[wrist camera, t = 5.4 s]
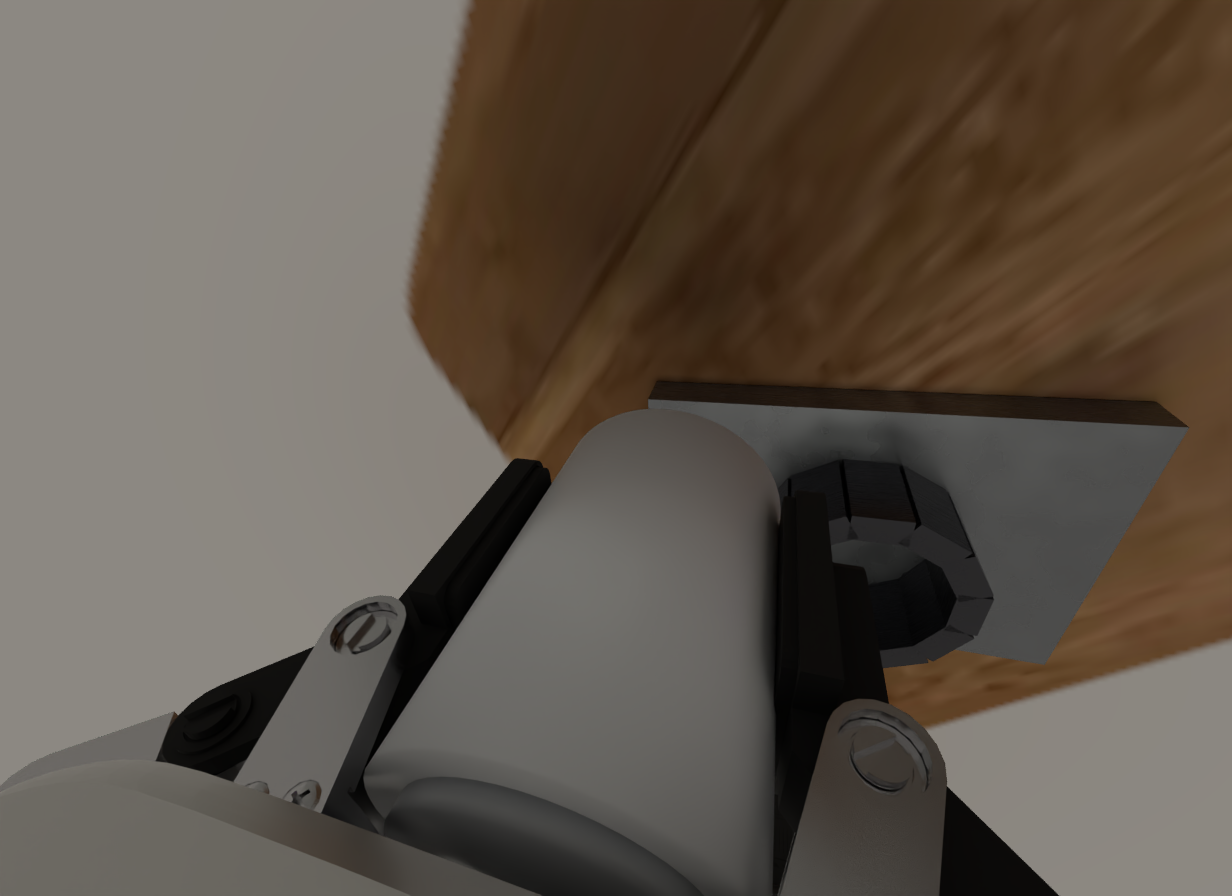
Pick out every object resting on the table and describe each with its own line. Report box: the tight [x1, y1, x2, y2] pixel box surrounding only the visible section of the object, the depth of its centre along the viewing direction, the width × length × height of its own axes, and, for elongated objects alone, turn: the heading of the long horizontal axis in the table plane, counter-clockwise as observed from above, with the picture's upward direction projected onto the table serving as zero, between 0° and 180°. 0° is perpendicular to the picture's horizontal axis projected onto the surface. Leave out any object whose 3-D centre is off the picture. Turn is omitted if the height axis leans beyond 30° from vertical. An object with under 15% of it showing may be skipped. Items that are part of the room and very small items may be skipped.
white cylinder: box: [363, 409, 781, 896], centre depth 9 cm, size 5×5×7 cm
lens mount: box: [648, 381, 1189, 668], centre depth 24 cm, size 14×20×6 cm
